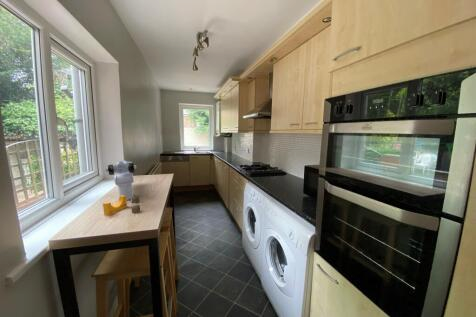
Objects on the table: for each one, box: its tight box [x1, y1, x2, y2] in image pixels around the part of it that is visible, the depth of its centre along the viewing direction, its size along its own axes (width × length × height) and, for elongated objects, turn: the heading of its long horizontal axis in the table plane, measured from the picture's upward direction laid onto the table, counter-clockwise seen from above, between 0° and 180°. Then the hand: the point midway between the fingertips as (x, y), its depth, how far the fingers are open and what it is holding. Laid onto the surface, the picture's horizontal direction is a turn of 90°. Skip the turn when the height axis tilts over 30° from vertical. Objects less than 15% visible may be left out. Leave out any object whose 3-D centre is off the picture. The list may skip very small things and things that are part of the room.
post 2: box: [131, 204, 141, 214], centre depth 99 cm, size 4×4×3 cm
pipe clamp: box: [102, 195, 128, 217], centre depth 100 cm, size 12×4×6 cm, turn 169°
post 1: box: [130, 195, 140, 204], centre depth 112 cm, size 4×4×3 cm
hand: (120, 169), depth 99 cm, fingers open, 7 cm apart
